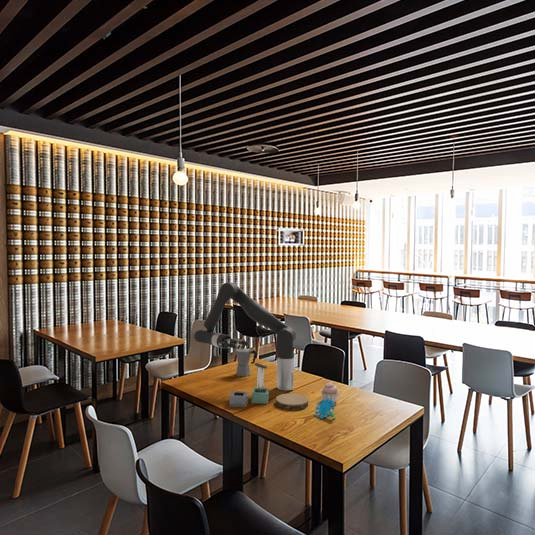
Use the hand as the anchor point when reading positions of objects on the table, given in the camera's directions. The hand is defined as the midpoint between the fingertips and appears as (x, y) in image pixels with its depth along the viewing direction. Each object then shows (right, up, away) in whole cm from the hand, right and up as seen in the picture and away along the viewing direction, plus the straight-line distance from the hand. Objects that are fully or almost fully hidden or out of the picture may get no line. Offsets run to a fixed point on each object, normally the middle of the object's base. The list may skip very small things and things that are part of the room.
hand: (241, 345), depth 218 cm
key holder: (+10, -26, -10) cm, 30 cm away
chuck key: (+10, -26, -10) cm, 30 cm away
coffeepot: (0, -25, +33) cm, 41 cm away
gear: (+40, -28, -30) cm, 57 cm away
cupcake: (+45, -27, -10) cm, 54 cm away
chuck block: (0, -26, -16) cm, 31 cm away
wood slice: (+26, -27, -14) cm, 40 cm away
